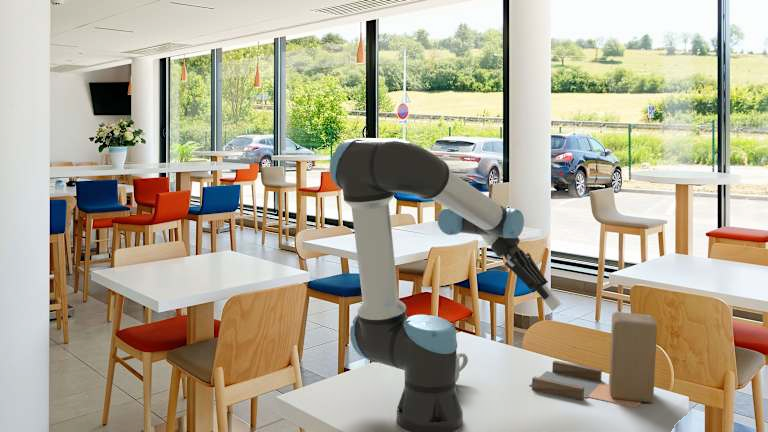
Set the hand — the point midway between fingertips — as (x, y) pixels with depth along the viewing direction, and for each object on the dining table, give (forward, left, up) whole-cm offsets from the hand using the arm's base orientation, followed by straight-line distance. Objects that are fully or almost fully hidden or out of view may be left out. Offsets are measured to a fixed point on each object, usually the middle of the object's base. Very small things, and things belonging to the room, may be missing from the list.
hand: (556, 307), depth 174 cm
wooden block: (+2, -19, -21) cm, 28 cm away
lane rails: (0, -3, -21) cm, 21 cm away
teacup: (-18, +24, -21) cm, 36 cm away
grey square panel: (0, -3, -21) cm, 21 cm away
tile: (0, -16, -21) cm, 26 cm away
